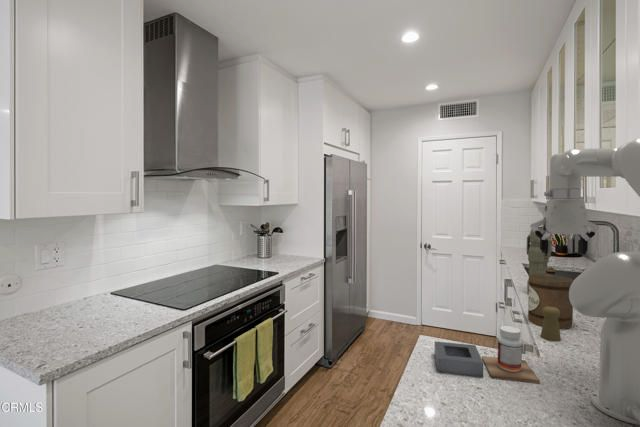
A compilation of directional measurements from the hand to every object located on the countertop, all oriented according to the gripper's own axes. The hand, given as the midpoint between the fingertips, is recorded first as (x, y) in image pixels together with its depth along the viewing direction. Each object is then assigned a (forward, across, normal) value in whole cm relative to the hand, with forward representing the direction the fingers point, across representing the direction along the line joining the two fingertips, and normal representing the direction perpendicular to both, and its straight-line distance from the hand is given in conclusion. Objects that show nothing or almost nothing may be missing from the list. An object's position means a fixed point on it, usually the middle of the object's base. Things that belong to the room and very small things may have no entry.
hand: (563, 253), depth 102 cm
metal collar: (+33, -30, -8) cm, 46 cm away
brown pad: (+33, -16, -8) cm, 38 cm away
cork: (+34, +5, +21) cm, 40 cm away
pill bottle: (+33, -16, -8) cm, 37 cm away
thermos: (+34, +21, +81) cm, 90 cm away
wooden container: (+34, +11, +38) cm, 52 cm away
